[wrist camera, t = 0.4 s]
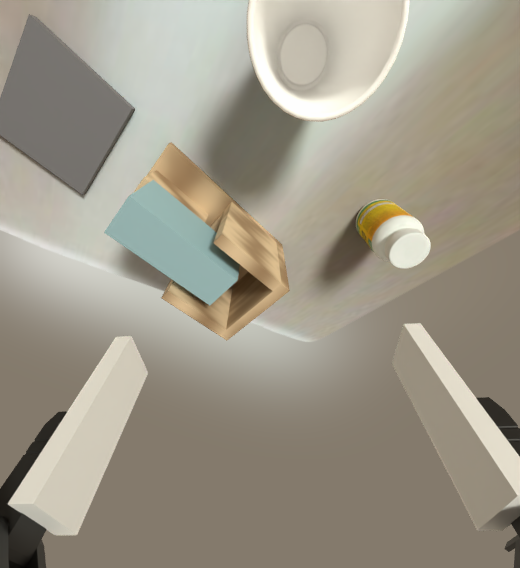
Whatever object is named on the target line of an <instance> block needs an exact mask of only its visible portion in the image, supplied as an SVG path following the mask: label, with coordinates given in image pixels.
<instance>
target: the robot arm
mask: <svg viewBox="0 0 520 568" xmlns="http://www.w3.org/2000/svg"><path fill="white" fill-rule="evenodd" d="M392 365H393V367H394V369H395V371H396V373H397V375H398V377H399V379H400V381H401V383H402V385H403V386H404V389H405V390H406V392H407V394H408V396H409V398H410V400H411V402H412V404H413V406H414V408H415V410H416V412H417V414H418V416H419V418H420V420H421V422H422V424H423V426H424V427H425V429H426V431H427V433H428V435H429V437H430V439H431V441H432V443H433V445H434V447H435V449H436V451H437V453H438V454H439V457H440V459H441V461H442V462H443V465H444V466H445V468H446V470H447V472H448V474H449V476H450V478H451V480H452V482H453V484H454V486H455V488H456V490H457V492H458V494H459V496H460V498H461V500H462V501H463V504H464V505H465V507H466V509H467V511H468V513H469V515H470V517H471V519H472V521H473V523H474V525H475V527H476V529H477V530H478V531H485V530H486V531H491V530H504V529H505V528H506V527H508V526H509V525H510V524H512V526H513V527H514V529H515V531H516V532H517V534H518V535H517V536H516V537H514V538H513V539H511V540H510V541H508V542H507V544H506V546H505V549H506V550H507V551H508V552H509V551H511V550H513V549H514V548H515V560H514V568H520V429H519V428H518V425H517V424H516V423H515V422H514V420H513V419H512V418H511V417H510V415H509V414H508V413H507V412H506V411H505V410H504V409H503V408H502V407H500V406H499V405H498V404H497V403H495V402H494V401H493V400H492V399H490V398H489V397H487V398H475V396H474V395H473V394H472V392H471V391H470V389H469V388H468V387H467V385H466V384H465V383H464V381H463V380H462V379H461V377H460V376H459V375H458V373H457V372H456V371H455V369H454V368H453V367H452V365H451V364H450V363H449V361H448V360H447V359H446V357H445V356H444V355H443V354H442V352H441V351H440V349H439V348H438V347H437V345H436V344H435V342H434V341H433V340H432V338H431V337H430V336H429V334H428V333H427V332H426V330H425V329H424V328H423V327H422V325H421V324H420V323H418V324H404V325H403V328H402V331H401V335H400V338H399V341H398V345H397V348H396V351H395V354H394V358H393V361H392ZM147 374H148V372H147V370H146V367H145V365H144V363H143V361H142V359H141V356H140V354H139V352H138V350H137V348H136V345H135V343H134V341H133V339H132V337H131V336H126V337H116V338H115V340H114V341H113V343H112V344H111V346H110V347H109V349H108V351H107V352H106V353H105V355H104V357H103V358H102V360H101V361H100V363H99V364H98V366H97V367H96V369H95V370H94V372H93V373H92V375H91V376H90V378H89V379H88V381H87V383H86V384H85V386H84V387H83V389H82V391H81V392H80V393H79V395H78V396H77V398H76V400H75V401H74V403H73V404H72V406H71V407H70V409H69V410H68V412H58V413H57V414H56V415H55V416H54V417H53V418H52V419H50V420H49V421H48V422H47V423H46V424H45V425H44V427H43V428H42V430H41V431H40V432H39V434H38V435H37V437H36V438H35V441H34V442H33V443H32V444H31V445H30V447H29V448H28V450H27V451H26V454H25V455H23V457H22V458H21V460H20V461H19V463H18V464H17V466H16V467H15V468H14V470H13V471H12V473H11V474H10V476H9V477H8V478H7V480H6V481H5V483H4V484H3V486H2V487H1V489H0V568H46V564H45V552H44V545H43V542H42V540H41V539H42V537H43V535H44V533H45V531H46V530H48V531H49V532H51V533H52V534H54V535H77V533H78V531H79V529H80V527H81V524H82V522H83V520H84V518H85V515H86V513H87V511H88V508H89V506H90V504H91V502H92V499H93V497H94V495H95V492H96V490H97V488H98V486H99V483H100V481H101V479H102V476H103V474H104V472H105V470H106V467H107V465H108V463H109V461H110V458H111V456H112V454H113V451H114V449H115V447H116V444H117V442H118V440H119V438H120V436H121V433H122V431H123V429H124V426H125V424H126V422H127V420H128V417H129V415H130V413H131V410H132V408H133V406H134V404H135V401H136V399H137V397H138V395H139V392H140V390H141V388H142V385H143V383H144V381H145V379H146V376H147Z"/></svg>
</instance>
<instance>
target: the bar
mask: <svg viewBox="0 0 520 568" xmlns="http://www.w3.org/2000/svg"><path fill="white" fill-rule="evenodd" d="M104 233H106V234H107V235H109V236H110V237H111V238H113V239H114V240H116V241H117V242H119V243H120V244H122V245H123V246H124V247H126V248H127V249H129V250H130V251H132V252H133V253H135V254H136V255H137V256H139V257H140V258H142V259H143V260H145V261H146V262H148V263H149V264H150V265H152V266H153V267H155V268H156V269H158V270H159V271H161V272H162V273H163V274H165V275H166V276H168V277H169V278H171V279H172V280H174V281H175V282H176V283H178V284H179V285H181V286H182V287H184V288H185V289H187V290H188V291H190V292H191V293H192V294H194V295H195V296H197V297H198V298H200V299H201V300H203V301H204V302H205V303H207V304H208V305H211V304H212V303H213V302H214V301H216V300H217V299H218V298H219V297H220V296H221V295H222V294H223V293H224V292H225V291H227V290H228V289H229V288H230V287H231V286H232V285H233V284H234V283H235V282H236V281H237V280H238V274H239V267H240V264H239V263H237V262H236V261H235V260H234V259H232V258H231V257H230V256H229V255H227V254H226V253H225V252H224V251H222V250H221V249H220V248H219V247H218V246H216V245H215V244H214V240H215V237H216V234H217V232H215V231H214V230H213V229H212V228H211V227H209V226H208V225H207V224H206V223H205V222H203V221H202V220H201V219H200V218H199V217H198V216H196V215H195V214H194V213H193V212H192V211H190V210H189V209H188V208H187V207H186V206H184V205H183V204H182V203H181V202H180V201H178V200H177V199H176V198H175V197H174V196H172V195H171V194H170V193H169V192H168V191H166V190H165V189H164V188H163V187H162V186H160V185H159V184H158V183H157V182H156V181H154V180H152V181H151V182H149V183H148V184H146V185H145V186H143V187H142V188H140V189H139V190H137V191H136V192H134V193H133V194H131V195H130V196H129V197H128V198H127V200H126V201H125V203H124V204H123V206H122V207H121V208H120V210H119V211H118V213H117V214H116V216H115V217H114V219H113V220H112V222H111V223H110V225H109V226H108V228H107V229H106V231H105V232H104Z"/></svg>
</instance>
